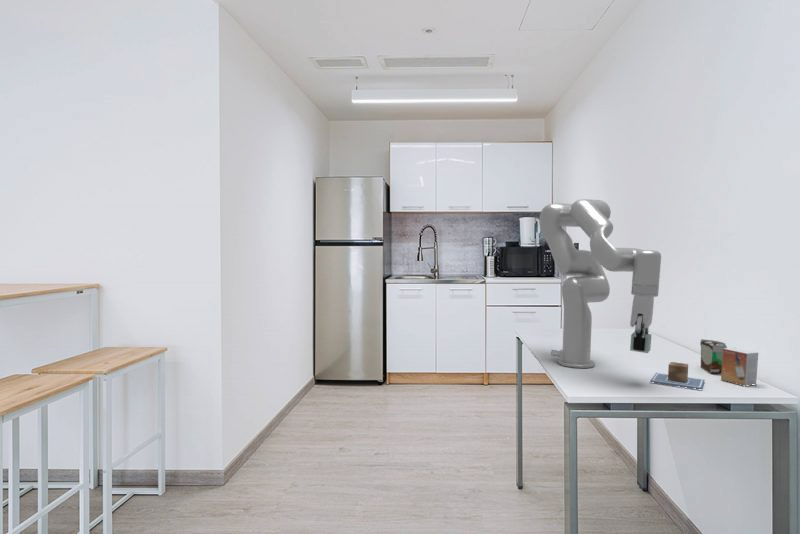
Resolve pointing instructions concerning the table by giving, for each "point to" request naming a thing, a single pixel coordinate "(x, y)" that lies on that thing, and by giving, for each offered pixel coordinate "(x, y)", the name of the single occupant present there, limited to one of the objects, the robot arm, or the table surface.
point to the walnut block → (678, 372)
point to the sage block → (647, 343)
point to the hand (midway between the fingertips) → (640, 347)
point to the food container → (712, 356)
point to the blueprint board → (689, 384)
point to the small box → (739, 366)
